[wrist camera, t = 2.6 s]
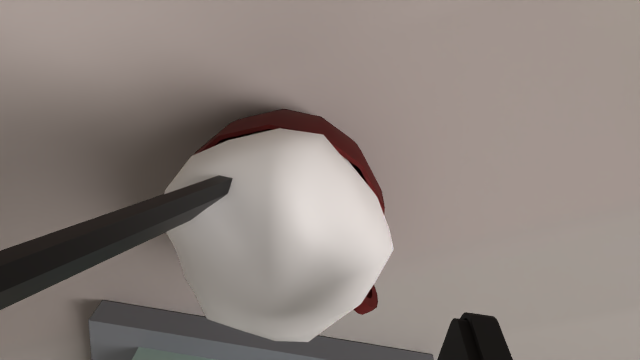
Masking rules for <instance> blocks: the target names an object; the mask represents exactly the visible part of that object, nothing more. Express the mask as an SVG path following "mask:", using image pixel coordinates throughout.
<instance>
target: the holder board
mask: <svg viewBox="0 0 640 360" xmlns="http://www.w3.org/2000/svg"><path fill="white" fill-rule="evenodd" d="M89 333H90V345H91V358H92V360H434V359H433V355H431V354H425V353H419V352H413V351H407V350H401V349H394V348H388V347H382V346H376V345H370V344H364V343H358V342H352V341H346V340H340V339H334V338H328V337H322V336H316V337H314V338H313V339H312V340H310V341H309V342H289V341H274V340H270V339H267V338H264V337H261V336H258V335H254V334H251V333H248V332H245V331H241V330H238V329H235V328H232V327H229V326H226V325H223V324H220V323H217V322H214V321H211V320H208V319H207V318H206V317H201V316H195V315H189V314H183V313H177V312H171V311H165V310H159V309H153V308H147V307H141V306H135V305H129V304H122V303H116V302H110V301H104V300H102V302H101V303H100V305H99V306H98V307H97V309H96V310H95V312H94V313H93V315H92V316H91V317H90V319H89Z"/></svg>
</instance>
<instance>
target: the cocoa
mask: <svg viewBox="0 0 640 360" xmlns="http://www.w3.org/2000/svg"><path fill="white" fill-rule="evenodd" d="M384 209H385V207H384V201H383V196H382V191H381V188H380V186H379V185H378V183H377V181H376V179H375V177H374V175H373V173H372V171H371V169H370V167H369V165H368V163H367V161H366V159H365V157H364V155H363V154H362V152H361V150H360V148H359V147H358V145H357V144H356V143H355V142H354V141H353V140H352V139H351V138H349V137H348V136H347V135H345V134H344V133H343V132H341V131H340V130H339V129H337V128H336V127H334V126H333V125H332V124H330V123H329V122H328V121H326V120H325V119H324V118H322V117H320V116H315V115H310V114H306V113H301V112H296V111H291V110H287V109H281V110H276V111H272V112H268V113H263V114H259V115H255V116H250V117H246V118H242V119H238V120H236V121H234V122H232V123H230V124H228V125H227V126H226V127H225V128H224V129H223V130H221V131H220V132H219V133H218V134H217V135H215V136H214V137H213V138H212V139H211V140H210V141H208V142H207V143H206V144H205V145H204V146H203V147H201V148H200V149H199V150H198V151H197V152H196V153H195V154H194V155H193V156H191V157H190V158H189V160H188V161H187V162H186V163H185V165H184V166H183V167H182V169H181V170H180V171H179V173H178V174H177V175H176V176H175V178H174V179H173V180H172V182H171V183H170V184H169V186H168V187H167V188H166V189H165V193H164V194H163V195H160V196H158V197H155V198H152V199H149V200H146V201H143V202H140V203H137V204H134V205H131V206H129V207H126V208H123V209H120V210H117V211H114V212H111V213H108V214H105V215H103V216H100V217H97V218H94V219H91V220H88V221H85V222H82V223H79V224H76V225H74V226H71V227H68V228H65V229H62V230H59V231H56V232H53V233H50V234H48V235H45V236H42V237H39V238H36V239H33V240H30V241H27V242H24V243H21V244H19V245H16V246H13V247H10V248H7V249H4V250H1V251H0V310H1V309H3V308H6V307H8V306H10V305H12V304H14V303H16V302H18V301H20V300H23V299H25V298H27V297H29V296H31V295H33V294H35V293H37V292H40V291H42V290H44V289H46V288H48V287H50V286H52V285H54V284H56V283H59V282H61V281H63V280H65V279H67V278H69V277H71V276H73V275H76V274H78V273H80V272H82V271H84V270H86V269H88V268H90V267H93V266H95V265H97V264H99V263H101V262H103V261H105V260H107V259H110V258H112V257H114V256H116V255H118V254H120V253H122V252H124V251H127V250H129V249H131V248H133V247H135V246H137V245H139V244H141V243H144V242H146V241H148V240H150V239H152V238H154V237H156V236H158V235H161V234H163V233H165V232H166V233H167V235H168V237H169V239H170V241H171V242H172V244H173V246H174V248H175V250H176V253H177V256H178V259H179V262H180V265H181V268H182V271H183V273H184V276H185V279H186V281H187V282H188V284H189V286H190V287H191V289H192V290H193V292H194V293H195V296H196V298H197V300H198V302H199V304H200V306H201V308H202V310H203V312H204V314H205V316H206V318H207V319H208V320H211V321H214V322H217V323H220V324H223V325H226V326H229V327H232V328H235V329H238V330H241V331H245V332H248V333H251V334H254V335H258V336H261V337H264V338H267V339H270V340H274V341H289V342H309V341H310V340H312V339H313V338H314V337H316V336H317V335H318V334H320V333H321V332H322V331H324V330H325V329H327V328H328V327H329V326H331V325H332V324H333V323H335V322H336V321H338V320H339V319H340V318H342V317H343V316H345V315H346V314H348V313H349V312H350V311H352V310H353V309H354V310H355V311H356V312H357V313H359V314H365V313H368V312H370V311H372V310H374V309H375V308H376V307H377V304H378V298H377V292H376V289H375V287H374V283H375V282H376V280H377V278H378V276H379V275H380V273H381V271H382V269H383V268H384V266H385V264H386V262H387V260H388V259H389V257H390V255H391V253H392V251H393V250H394V248H393V243H392V239H391V234H390V230H389V227H388V224H387V222H386V219H385V216H384Z"/></svg>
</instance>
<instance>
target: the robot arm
mask: <svg viewBox="0 0 640 360" xmlns="http://www.w3.org/2000/svg"><path fill="white" fill-rule="evenodd" d="M437 360H513V359H512V357H511V354H510V352H509V349H508V346H507V344H506V341H505V339H504V336H503V334H502V331H501V328H500V326H499V323H498V321H497V319H496V318H495V317H493V316H487V315H480V314H474V313H467V312H466V313H464V314H463V315H462V316H461V318H460V319H456V318H454V319H453V320H452V321H451V323H450V326H449V329H448V332H447V335H446V337H445V340H444V343H443V346H442V348H441V351H440V354H439V357H438V359H437Z"/></svg>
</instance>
